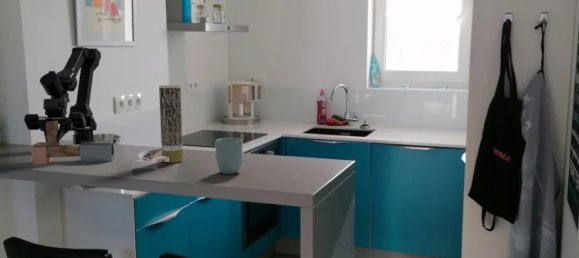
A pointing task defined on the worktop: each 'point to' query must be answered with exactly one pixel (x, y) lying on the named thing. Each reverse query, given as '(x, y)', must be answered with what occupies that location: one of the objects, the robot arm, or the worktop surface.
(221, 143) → the cup
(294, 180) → the worktop surface
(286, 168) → the worktop surface
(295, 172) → the worktop surface
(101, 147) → the sleeve
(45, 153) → the light brown block
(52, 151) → the wooden l-shaped block
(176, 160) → the speckled tall cylinder
